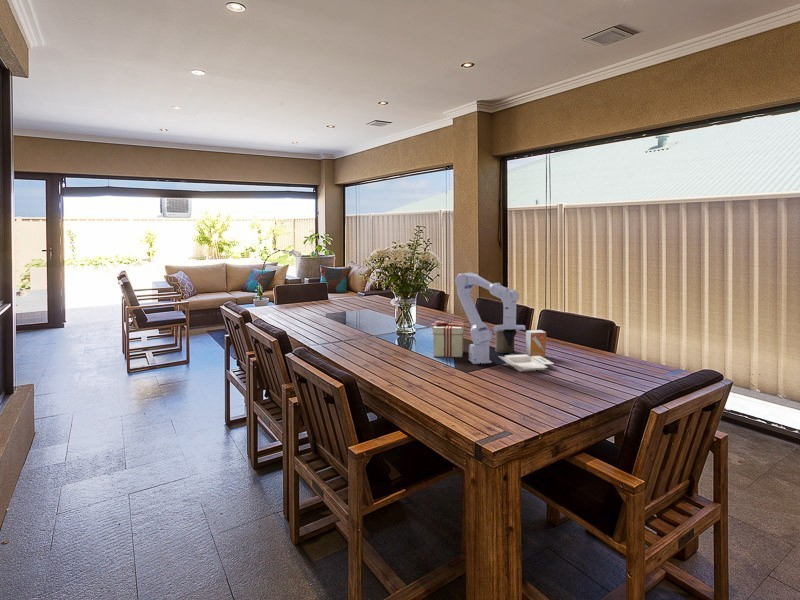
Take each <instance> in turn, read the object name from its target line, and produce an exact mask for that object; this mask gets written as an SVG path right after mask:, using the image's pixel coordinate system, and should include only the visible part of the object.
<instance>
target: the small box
mask: <svg viewBox="0 0 800 600" xmlns="http://www.w3.org/2000/svg"><path fill="white" fill-rule="evenodd" d="M546 346H547V332H546V331H544V330H542V329H532V330H525V350H524V351H525V353H524V354H526V355H528V356H529V357H531V356H541V357H545V358H546V348H547V347H546Z"/></svg>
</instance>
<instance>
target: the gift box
mask: <svg viewBox="0 0 800 600" xmlns="http://www.w3.org/2000/svg"><path fill="white" fill-rule="evenodd" d="M430 325H431V326H433V327H432V336H433V345H432V346H433V357H436V358H437V357H438V358H439V357H440V358H441V357H442V358H463V353H464V330H465V329H464V327H465V326H464V325H465V322H463V321H459V320H456V321H452V322H447V321H444V320H436V321H434V323H431V324H430Z"/></svg>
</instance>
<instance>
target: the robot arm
mask: <svg viewBox="0 0 800 600" xmlns="http://www.w3.org/2000/svg"><path fill="white" fill-rule="evenodd" d="M454 283H455V286H456V293H457V296H458V299H459V301H460V304H461V306H462V308H463V310H464V313H465V315H466V317H467V319H468V321H469V323H470V326H471V328H470V331H469V332H470V339H471V341H472V343H470V344H469V346H468V361H470V362H471V364H473V365H477V364H478V365H479V364H480V363H481V364H491V363H493V361H492V360H490V343H491V340H492V339H493V332H492V330H491V329H489V327H488V325H487V324H485V323H484V322H483V321H482V319H481V316H480V314H479V313H478V310H477V307H476V305H475V303H474V300H473V299H472V296H471V294H470V293H471V290H472V289H473V287H474V286H475V285H476V286H479V287H481V288H483V289H485V290H487V291H489V293H490V295H492V296H494V297H495V298H498V299H500V301H501V302H502V306H503V307H502V308H503V310H502V311H503V312H502V313H503V315H502V316H503V317H502V324H501V325H502V326H496V325H495V326H493V331H494V332H496V331H502V332H503V334H504V336H505V339H506V342H507V346H511V345H512V342H513V339H514V340H515V336H516V335H517V331H522V330H523V331H526V325H524V324H517V301H518V300H519V298H520V295H519V292H518V291H517V290H516V289H510V287H506V286H503V285H501V283H500V282H494V283H492V282H490V281H488V280H487V279H485V278H484V277H482V276H480V275H479V274H477V273H475V272H472V271H471V272H470V271H469V272H466V273H458V274H457V275H456V277H455V279H454ZM481 364H480V365H481Z"/></svg>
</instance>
